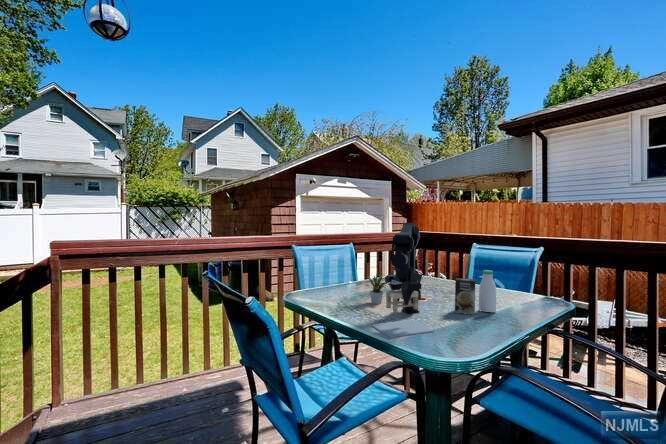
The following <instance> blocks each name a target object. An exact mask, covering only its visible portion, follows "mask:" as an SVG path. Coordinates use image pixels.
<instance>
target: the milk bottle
mask: <svg viewBox="0 0 666 444" xmlns="http://www.w3.org/2000/svg"><path fill="white" fill-rule="evenodd" d="M493 276H494V271H493V270H489V269H484V270H482V278H481V281H480V283H479V287H478V288H479V289H478V310H481V311H485V312H495V311H496V312H497V287H496V283H495V281H494V278H493ZM481 311H480V312H481ZM496 312H495V313H496Z"/></svg>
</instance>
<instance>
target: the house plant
mask: <svg viewBox="0 0 666 444" xmlns="http://www.w3.org/2000/svg"><path fill="white" fill-rule="evenodd" d="M364 277H365V278H367V279H368V280H369V282H370V284H371V285H372V286H370V284H366V285H365V287H367V288H371V290H370V291H369V295H370V301H371V304H372V305H381V304H382V302H383V295H384V291H383V290H382V289H383V288H385V289H387V288H389V285H387V284H388V283H387V282H385V281H384V282H382V281H383V277H384V274H381V275H380V276H379V277H378V273H376V275H373V276H369V275H367V276H365V275H364ZM371 277H372V278H371Z"/></svg>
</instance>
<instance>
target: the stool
mask: <svg viewBox="0 0 666 444" xmlns="http://www.w3.org/2000/svg"><path fill="white" fill-rule="evenodd" d="M385 291H386V292H385V293H386V295H385V297H386V302H385V307H386V309H392V311H393V313H394V312H397V313H398V312H399V311H398V309H399V308H403V307H410V306H413V309H415V310H416V309H418V310H419V301H418V292H417V291H414V292H413V293H412V295H411V297H413V304H411V297H410V300H409V303H408V305H405V304H403V303H404V301H403V300H399V301H398V298H400V299H401V298H403V295H402V291H401V290H385Z"/></svg>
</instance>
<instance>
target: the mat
mask: <svg viewBox="0 0 666 444" xmlns="http://www.w3.org/2000/svg"><path fill="white" fill-rule="evenodd" d="M371 327H372V328H374V329H375V330H377V331H379V332H380V333H381V334H383V335H385V336H386V337H387V338H390V339H391V338H399V337H406V336H413V335H421V334H429V333H434V332H435V330H434V329H431V328H429V327H427V326H426V325H424V324H421V323H420V322H418V321H415V320H414V319H409V320H408V319H407V320H400V321H392V322H383V323H382V322H381V323H374V324H371Z"/></svg>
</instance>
